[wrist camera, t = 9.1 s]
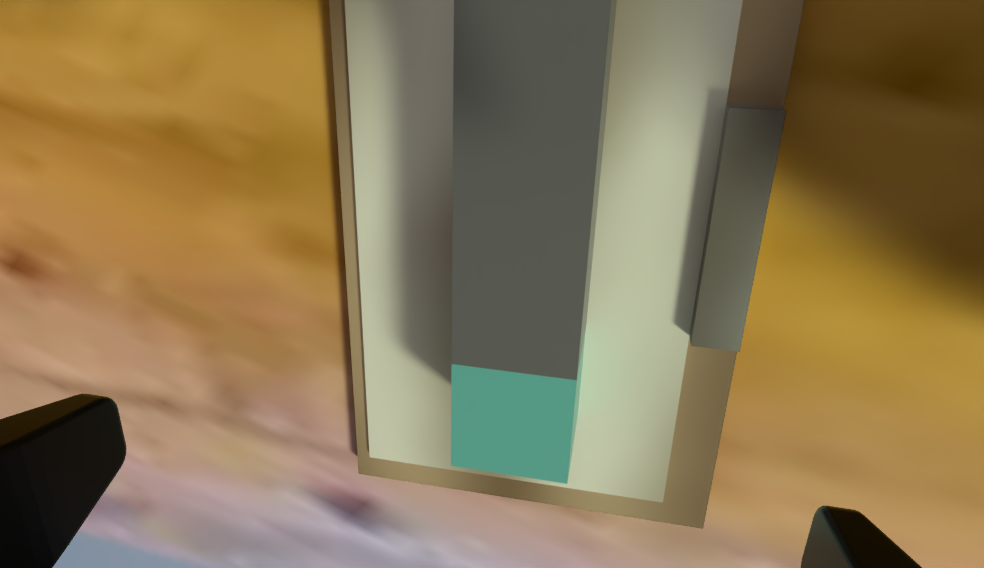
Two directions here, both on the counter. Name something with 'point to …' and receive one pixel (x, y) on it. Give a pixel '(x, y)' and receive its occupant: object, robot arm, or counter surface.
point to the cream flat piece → (616, 255)
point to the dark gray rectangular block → (524, 225)
